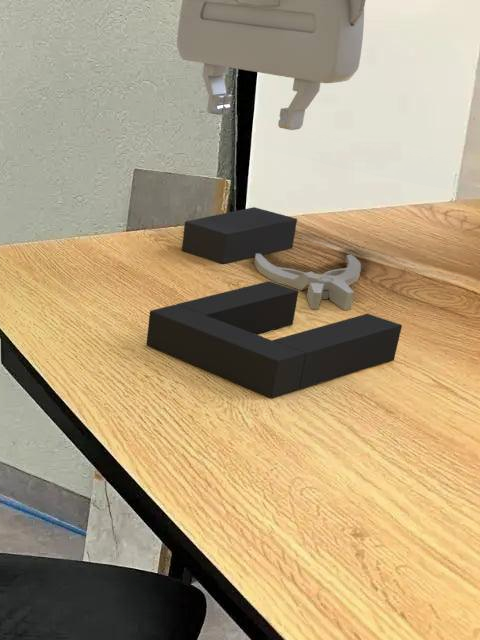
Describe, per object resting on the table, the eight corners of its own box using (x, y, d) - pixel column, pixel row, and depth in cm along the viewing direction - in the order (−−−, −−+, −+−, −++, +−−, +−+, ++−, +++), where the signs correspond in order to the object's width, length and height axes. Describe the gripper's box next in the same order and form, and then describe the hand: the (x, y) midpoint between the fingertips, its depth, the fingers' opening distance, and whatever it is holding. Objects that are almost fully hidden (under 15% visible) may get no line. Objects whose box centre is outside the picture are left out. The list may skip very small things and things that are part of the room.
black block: (249, 235, 124) (254, 206, 123) (292, 247, 120) (297, 218, 118) (181, 250, 120) (184, 221, 118) (223, 264, 116) (227, 234, 114)
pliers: (356, 246, 114) (391, 293, 102) (352, 261, 115) (388, 310, 103) (254, 244, 115) (277, 291, 103) (252, 260, 116) (274, 308, 104)
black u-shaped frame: (263, 313, 103) (269, 280, 101) (394, 360, 93) (402, 324, 91) (145, 344, 97) (149, 310, 95) (271, 398, 87) (277, 360, 85)
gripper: (394, -34, 99) (360, 134, 107) (222, -46, 114) (203, 102, 122) (345, -30, 97) (313, 142, 104) (175, -43, 111) (158, 109, 119)
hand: (252, 120), depth 113 cm, fingers open, 8 cm apart
